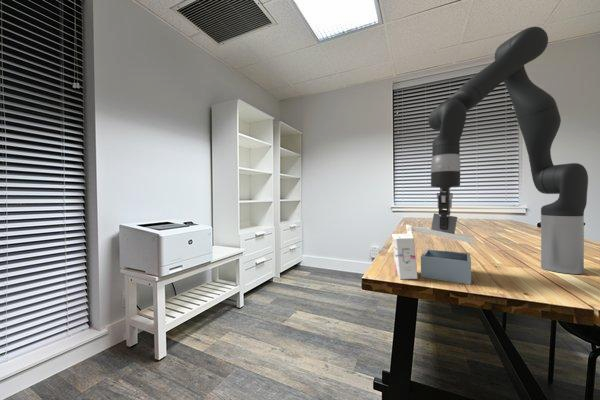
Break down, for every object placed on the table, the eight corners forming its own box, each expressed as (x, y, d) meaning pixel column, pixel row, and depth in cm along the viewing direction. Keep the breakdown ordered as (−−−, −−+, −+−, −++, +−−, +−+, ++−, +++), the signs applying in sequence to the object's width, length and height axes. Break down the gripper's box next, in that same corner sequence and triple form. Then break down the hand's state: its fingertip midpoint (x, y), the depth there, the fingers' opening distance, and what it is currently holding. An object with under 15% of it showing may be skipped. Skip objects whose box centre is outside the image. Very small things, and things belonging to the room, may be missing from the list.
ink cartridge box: (394, 271, 77) (390, 224, 78) (411, 270, 76) (406, 223, 77) (399, 279, 69) (394, 227, 69) (418, 279, 68) (413, 226, 68)
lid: (418, 230, 83) (421, 212, 83) (471, 240, 75) (474, 220, 75) (410, 230, 71) (414, 209, 71) (473, 243, 63) (477, 219, 63)
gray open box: (426, 267, 81) (426, 249, 81) (470, 273, 75) (470, 253, 75) (420, 276, 71) (420, 256, 71) (471, 284, 65) (470, 262, 65)
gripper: (460, 167, 65) (459, 232, 65) (460, 172, 77) (459, 227, 77) (428, 169, 69) (427, 230, 69) (433, 173, 81) (432, 226, 81)
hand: (444, 228), depth 73 cm, fingers closed on lid, 2 cm apart
